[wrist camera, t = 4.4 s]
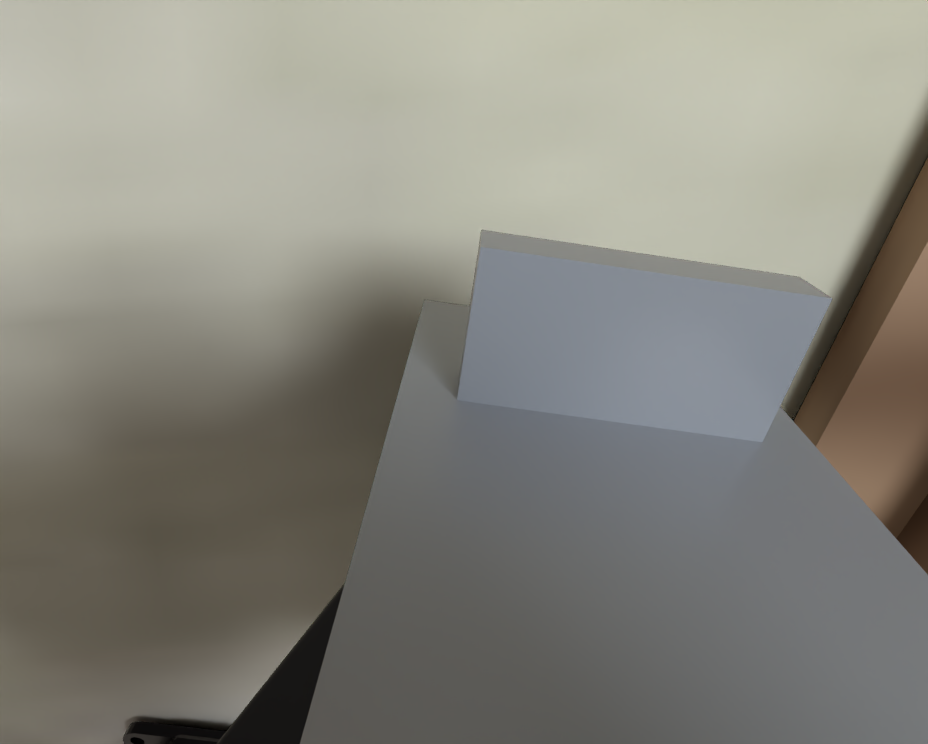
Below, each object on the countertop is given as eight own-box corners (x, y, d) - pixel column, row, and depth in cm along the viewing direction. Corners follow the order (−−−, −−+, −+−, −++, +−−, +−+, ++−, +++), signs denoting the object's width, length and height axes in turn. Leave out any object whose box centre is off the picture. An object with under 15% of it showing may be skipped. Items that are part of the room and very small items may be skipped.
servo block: (572, 718, 13) (648, 1301, 7) (381, 696, 12) (281, 1269, 6) (768, 233, 7) (2047, 971, 1) (436, 183, 7) (173, 758, 1)
